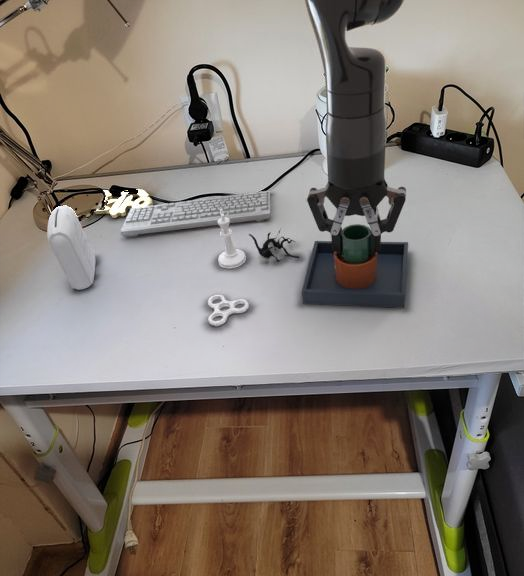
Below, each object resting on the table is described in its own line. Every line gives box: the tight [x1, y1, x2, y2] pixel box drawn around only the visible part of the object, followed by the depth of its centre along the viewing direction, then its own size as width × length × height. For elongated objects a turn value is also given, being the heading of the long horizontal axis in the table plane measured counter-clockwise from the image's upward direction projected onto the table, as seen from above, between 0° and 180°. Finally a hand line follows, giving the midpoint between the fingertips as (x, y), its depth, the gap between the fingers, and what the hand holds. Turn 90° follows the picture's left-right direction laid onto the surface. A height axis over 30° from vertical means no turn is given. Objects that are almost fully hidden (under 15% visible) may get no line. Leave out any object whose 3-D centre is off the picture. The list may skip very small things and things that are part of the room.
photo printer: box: [46, 205, 96, 291], centre depth 88 cm, size 10×4×12 cm, turn 11°
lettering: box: [84, 189, 154, 219], centre depth 109 cm, size 25×10×1 cm, turn 80°
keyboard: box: [119, 190, 271, 238], centre depth 100 cm, size 29×10×2 cm, turn 90°
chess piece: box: [217, 209, 247, 269], centre depth 86 cm, size 5×5×10 cm
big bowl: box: [334, 252, 378, 289], centre depth 79 cm, size 6×6×4 cm
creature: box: [248, 228, 300, 263], centre depth 87 cm, size 8×5×8 cm
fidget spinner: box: [207, 294, 250, 327], centre depth 80 cm, size 7×6×1 cm
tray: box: [301, 240, 409, 309], centre depth 80 cm, size 15×13×2 cm
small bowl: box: [341, 223, 371, 263], centre depth 76 cm, size 4×4×4 cm
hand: (356, 251), depth 77 cm, fingers closed on small bowl, 4 cm apart
